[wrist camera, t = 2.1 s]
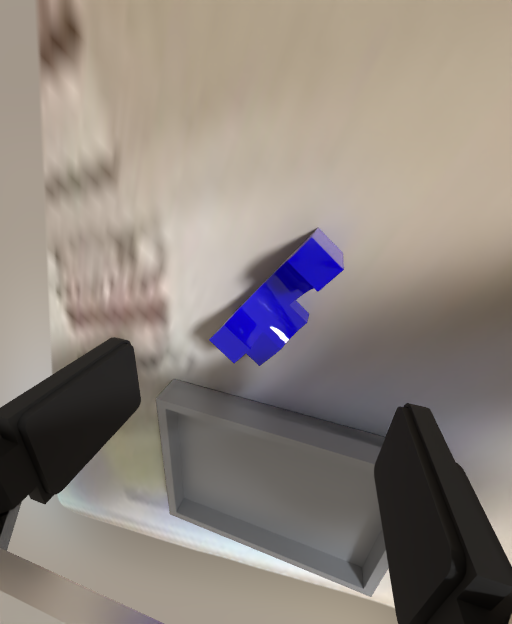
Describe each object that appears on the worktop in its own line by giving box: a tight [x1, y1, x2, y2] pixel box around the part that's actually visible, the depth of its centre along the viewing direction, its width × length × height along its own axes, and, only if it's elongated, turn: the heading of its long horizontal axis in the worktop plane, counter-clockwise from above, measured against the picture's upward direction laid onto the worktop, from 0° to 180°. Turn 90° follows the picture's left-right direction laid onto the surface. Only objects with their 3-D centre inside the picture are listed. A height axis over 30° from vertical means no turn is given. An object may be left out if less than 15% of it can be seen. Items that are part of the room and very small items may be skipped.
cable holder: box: [209, 228, 344, 366], centre depth 15 cm, size 8×4×4 cm, turn 138°
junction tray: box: [156, 379, 389, 597], centre depth 23 cm, size 20×16×2 cm
